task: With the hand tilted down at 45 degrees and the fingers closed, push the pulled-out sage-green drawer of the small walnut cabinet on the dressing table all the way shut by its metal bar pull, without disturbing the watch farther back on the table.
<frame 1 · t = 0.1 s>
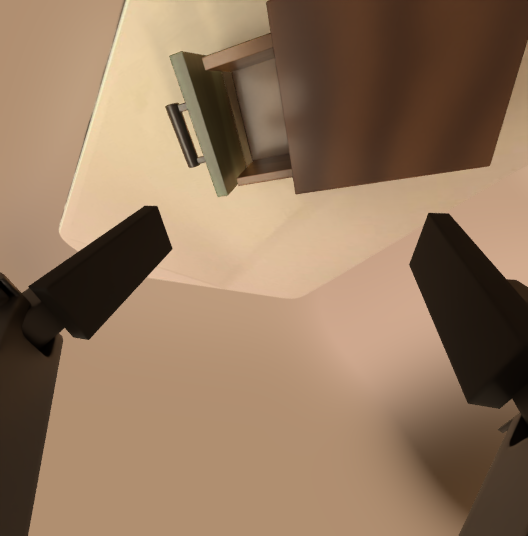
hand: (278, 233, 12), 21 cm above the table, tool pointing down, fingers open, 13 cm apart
drawer: (255, 119, 23), point 5 cm above the table, slide at 7.0 cm
cabinet: (369, 86, 24), on the table
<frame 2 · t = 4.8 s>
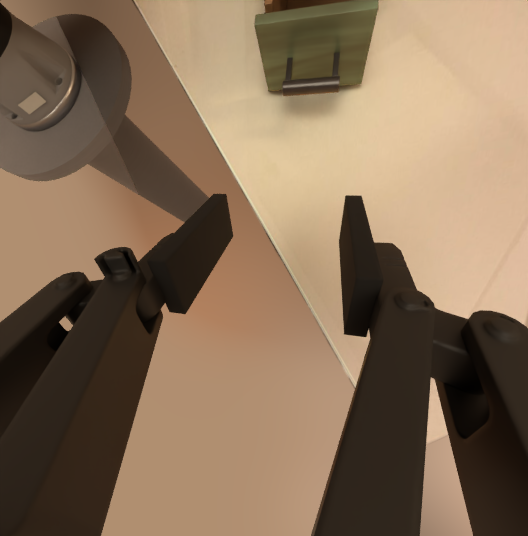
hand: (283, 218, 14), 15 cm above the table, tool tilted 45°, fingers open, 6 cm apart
drawer: (316, 20, 27), point 5 cm above the table, slide at 7.0 cm
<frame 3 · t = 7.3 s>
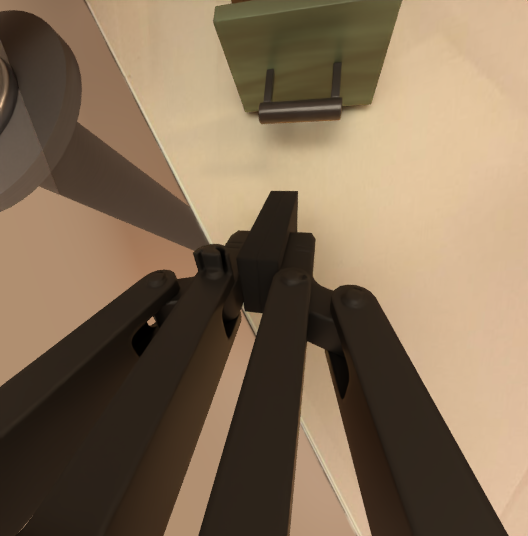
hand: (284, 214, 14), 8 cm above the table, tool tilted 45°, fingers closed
drawer: (308, 15, 19), point 5 cm above the table, slide at 7.0 cm
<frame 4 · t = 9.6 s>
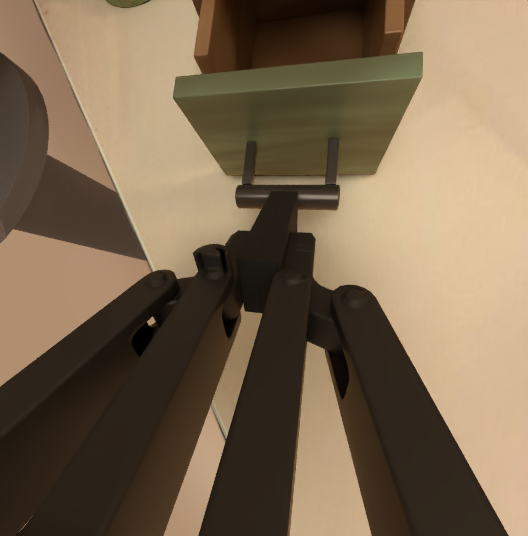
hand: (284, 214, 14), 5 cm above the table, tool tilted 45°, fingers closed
drawer: (297, 74, 15), point 5 cm above the table, slide at 6.2 cm, touching gripper
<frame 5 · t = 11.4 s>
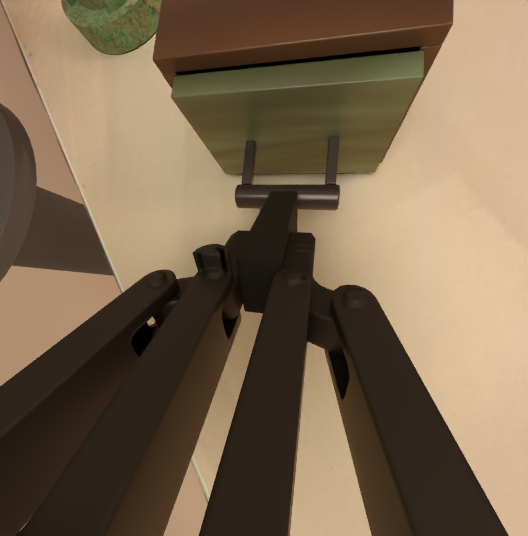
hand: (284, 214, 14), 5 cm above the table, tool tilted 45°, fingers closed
decorative artifact: (127, 13, 25), on the table
drawer: (297, 72, 15), point 5 cm above the table, slide at 0.0 cm, touching cabinet, gripper
cabinet: (304, 81, 20), on the table
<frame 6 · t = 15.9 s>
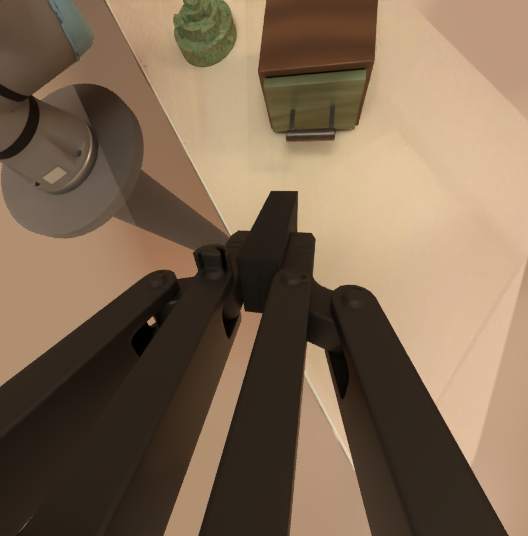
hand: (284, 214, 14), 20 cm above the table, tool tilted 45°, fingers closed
decorative artifact: (209, 42, 42), on the table
drawer: (315, 77, 32), point 5 cm above the table, slide at 0.0 cm, touching cabinet
cabinet: (316, 83, 37), on the table
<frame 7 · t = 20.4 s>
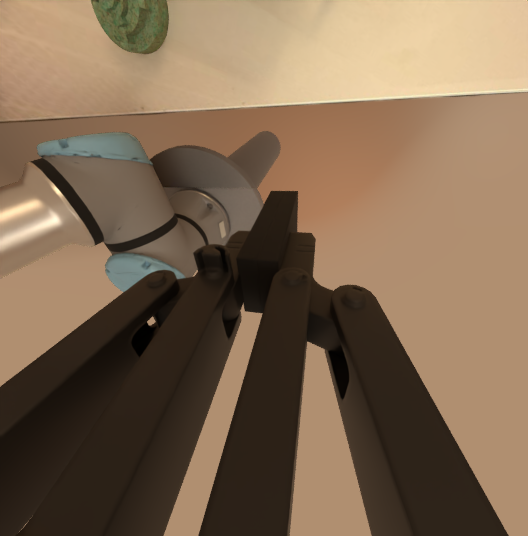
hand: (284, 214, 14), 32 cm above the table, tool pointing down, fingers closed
decorative artifact: (136, 7, 35), on the table
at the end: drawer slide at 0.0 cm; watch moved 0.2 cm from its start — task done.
